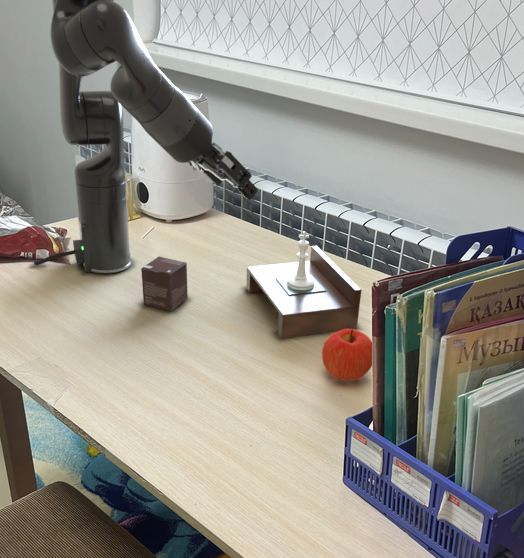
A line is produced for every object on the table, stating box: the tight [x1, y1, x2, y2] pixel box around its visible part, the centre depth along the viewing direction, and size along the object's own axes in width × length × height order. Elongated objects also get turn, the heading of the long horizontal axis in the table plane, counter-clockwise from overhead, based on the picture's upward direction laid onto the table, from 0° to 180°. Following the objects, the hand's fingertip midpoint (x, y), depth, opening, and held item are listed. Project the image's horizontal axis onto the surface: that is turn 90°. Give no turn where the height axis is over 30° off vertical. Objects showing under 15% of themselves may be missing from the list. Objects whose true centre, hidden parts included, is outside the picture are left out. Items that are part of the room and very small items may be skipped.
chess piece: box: [287, 230, 314, 290], centre depth 121 cm, size 5×5×10 cm
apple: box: [321, 329, 373, 381], centre depth 106 cm, size 8×8×8 cm
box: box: [140, 256, 189, 312], centre depth 124 cm, size 6×6×7 cm
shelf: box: [245, 245, 362, 339], centre depth 125 cm, size 14×20×8 cm
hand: (236, 187), depth 111 cm, fingers open, 8 cm apart
